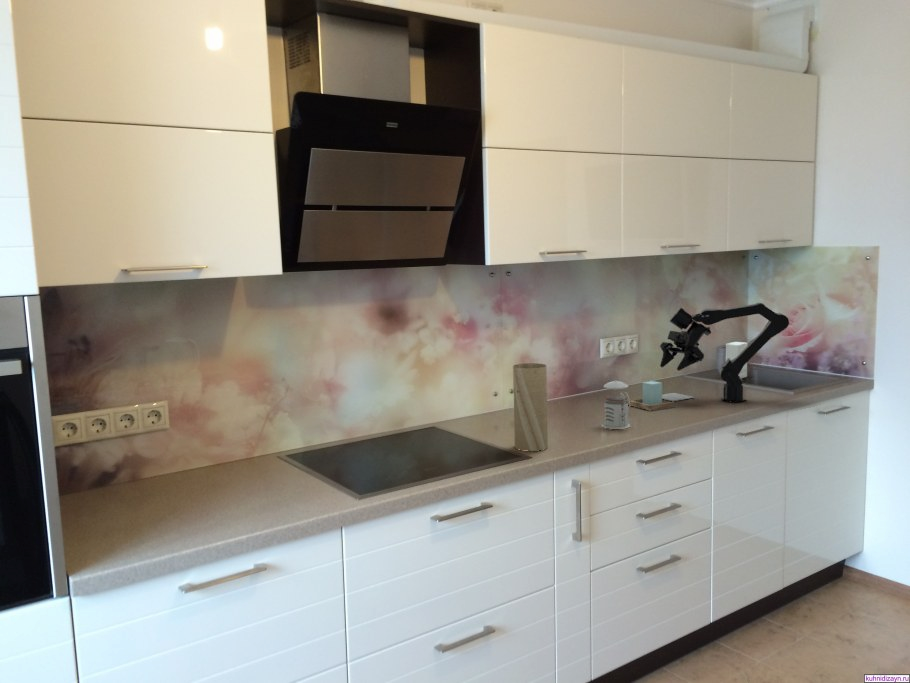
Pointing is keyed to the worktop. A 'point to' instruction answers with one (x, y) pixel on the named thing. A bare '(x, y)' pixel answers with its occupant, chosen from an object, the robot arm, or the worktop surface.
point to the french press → (616, 406)
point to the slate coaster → (675, 397)
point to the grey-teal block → (652, 392)
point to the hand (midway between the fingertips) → (669, 368)
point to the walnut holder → (640, 404)
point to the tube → (530, 406)
